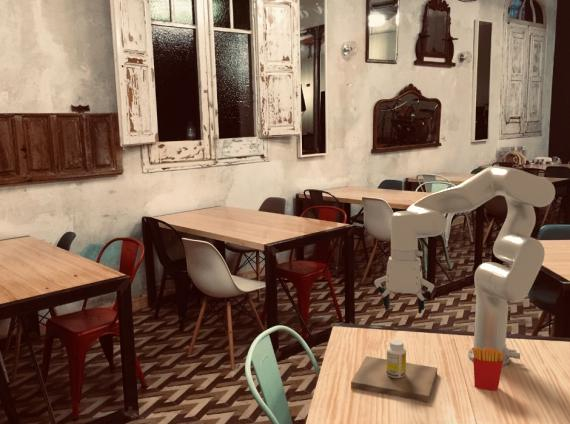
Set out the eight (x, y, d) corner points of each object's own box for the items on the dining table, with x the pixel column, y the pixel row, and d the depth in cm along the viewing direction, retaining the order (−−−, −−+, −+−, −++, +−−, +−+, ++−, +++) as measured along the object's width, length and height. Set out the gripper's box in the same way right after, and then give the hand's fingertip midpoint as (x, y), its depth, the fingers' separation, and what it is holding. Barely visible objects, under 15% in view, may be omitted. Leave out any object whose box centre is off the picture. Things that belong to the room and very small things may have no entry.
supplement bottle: (402, 369, 168) (403, 337, 166) (407, 378, 163) (409, 345, 161) (383, 370, 167) (384, 338, 166) (389, 379, 162) (390, 346, 160)
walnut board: (437, 373, 169) (437, 367, 169) (428, 402, 153) (428, 395, 153) (366, 361, 178) (366, 356, 177) (350, 388, 161) (351, 381, 161)
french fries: (500, 386, 162) (503, 347, 160) (501, 392, 158) (503, 353, 156) (470, 381, 165) (472, 343, 162) (469, 387, 161) (471, 348, 159)
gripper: (436, 252, 161) (435, 308, 165) (377, 248, 167) (377, 302, 171) (433, 259, 154) (432, 318, 158) (371, 255, 161) (371, 311, 164)
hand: (403, 310), depth 164 cm, fingers open, 9 cm apart
